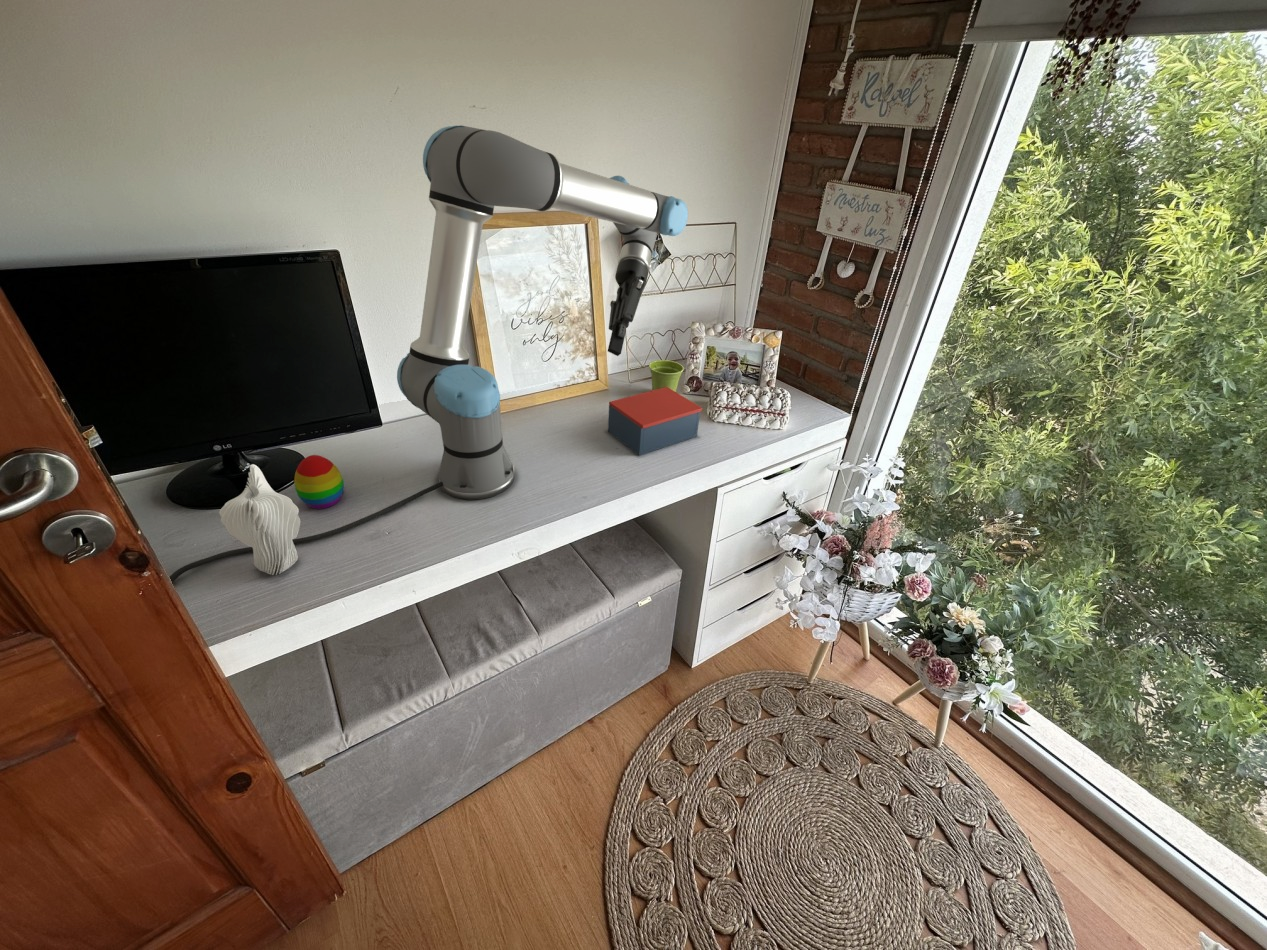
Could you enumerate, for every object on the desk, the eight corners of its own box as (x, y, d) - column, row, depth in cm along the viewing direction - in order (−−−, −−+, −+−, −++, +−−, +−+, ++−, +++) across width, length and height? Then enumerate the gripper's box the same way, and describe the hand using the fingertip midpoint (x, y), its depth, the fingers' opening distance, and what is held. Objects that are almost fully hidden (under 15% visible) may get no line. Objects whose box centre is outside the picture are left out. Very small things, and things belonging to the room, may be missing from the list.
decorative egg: (291, 506, 111) (276, 462, 105) (323, 484, 117) (311, 442, 112) (325, 517, 108) (311, 472, 103) (356, 494, 115) (345, 451, 109)
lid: (702, 411, 138) (702, 408, 138) (642, 428, 129) (642, 425, 129) (666, 389, 147) (666, 386, 147) (608, 404, 138) (608, 401, 138)
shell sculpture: (278, 589, 93) (243, 498, 83) (240, 574, 95) (202, 483, 85) (319, 558, 99) (291, 470, 89) (283, 545, 101) (252, 457, 92)
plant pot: (664, 385, 167) (667, 357, 162) (687, 397, 161) (690, 368, 156) (639, 393, 161) (641, 364, 157) (662, 406, 155) (665, 376, 151)
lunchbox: (697, 436, 142) (700, 410, 138) (639, 455, 133) (641, 427, 129) (664, 415, 151) (666, 389, 147) (607, 431, 142) (608, 404, 138)
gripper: (661, 261, 134) (643, 348, 126) (632, 288, 145) (614, 369, 137) (633, 245, 131) (613, 333, 123) (607, 274, 142) (586, 356, 134)
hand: (614, 352), depth 130 cm, fingers closed
